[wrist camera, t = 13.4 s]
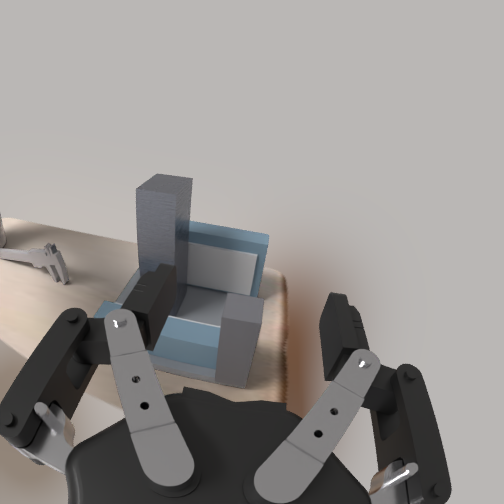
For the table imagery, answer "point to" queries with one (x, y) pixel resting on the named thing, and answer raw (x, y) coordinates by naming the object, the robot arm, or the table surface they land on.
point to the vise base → (213, 282)
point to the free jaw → (212, 338)
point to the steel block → (164, 227)
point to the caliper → (40, 260)
